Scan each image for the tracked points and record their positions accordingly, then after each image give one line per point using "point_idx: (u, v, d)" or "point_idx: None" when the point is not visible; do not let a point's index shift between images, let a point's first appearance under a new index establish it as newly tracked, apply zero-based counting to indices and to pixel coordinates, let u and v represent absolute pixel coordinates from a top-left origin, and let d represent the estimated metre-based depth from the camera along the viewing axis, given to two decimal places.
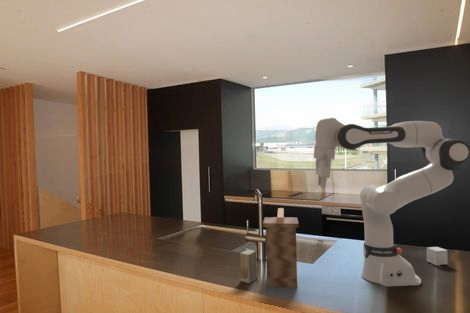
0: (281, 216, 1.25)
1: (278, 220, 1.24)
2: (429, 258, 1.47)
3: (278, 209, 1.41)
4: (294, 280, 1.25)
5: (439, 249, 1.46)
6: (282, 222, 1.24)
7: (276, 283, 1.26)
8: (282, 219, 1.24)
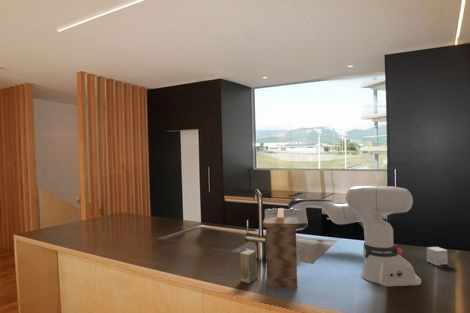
0: (281, 216, 1.25)
1: (278, 220, 1.24)
2: (429, 258, 1.47)
3: (278, 209, 1.41)
4: (294, 280, 1.25)
5: (439, 249, 1.46)
6: (282, 222, 1.24)
7: (276, 283, 1.26)
8: (282, 219, 1.24)
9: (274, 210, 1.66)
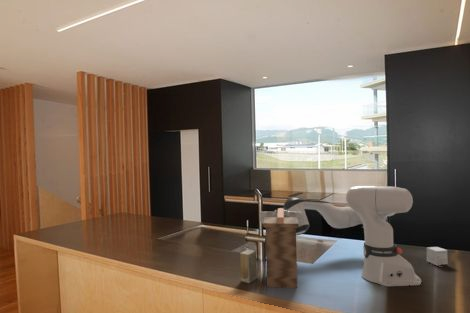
0: (281, 216, 1.25)
1: (278, 220, 1.24)
2: (429, 258, 1.47)
3: (278, 209, 1.41)
4: (294, 280, 1.25)
5: (439, 249, 1.46)
6: (282, 222, 1.24)
7: (276, 283, 1.26)
8: (282, 219, 1.24)
9: (277, 212, 1.40)
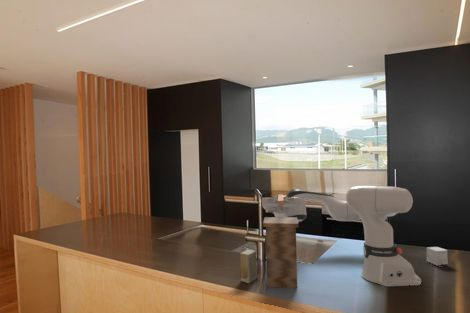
0: (281, 200, 1.43)
1: (278, 203, 1.41)
2: (429, 258, 1.47)
3: (278, 195, 1.59)
4: (294, 280, 1.25)
5: (439, 249, 1.46)
6: (282, 205, 1.41)
7: (276, 283, 1.26)
8: (282, 202, 1.41)
9: (277, 198, 1.58)
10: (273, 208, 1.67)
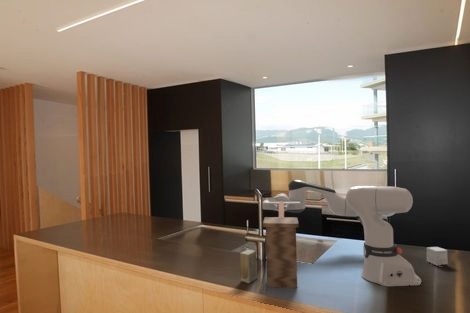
0: None
1: None
2: (429, 258, 1.47)
3: (279, 205, 1.60)
4: (294, 280, 1.25)
5: (439, 249, 1.46)
6: None
7: (276, 283, 1.26)
8: None
9: (278, 208, 1.60)
10: None
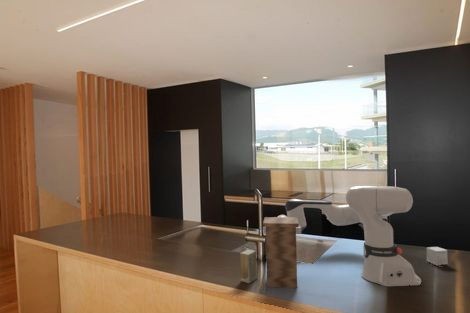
0: None
1: None
2: (429, 258, 1.47)
3: None
4: (294, 280, 1.25)
5: (439, 249, 1.46)
6: None
7: (276, 283, 1.26)
8: None
9: None
10: None
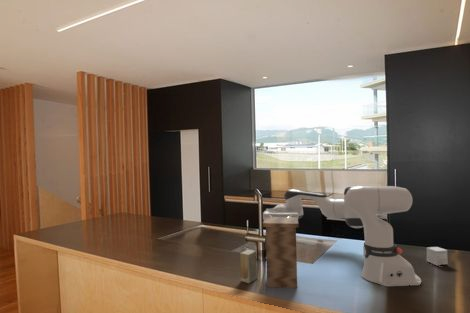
0: None
1: None
2: (429, 258, 1.47)
3: None
4: (294, 280, 1.25)
5: (439, 249, 1.46)
6: None
7: (276, 283, 1.26)
8: None
9: None
10: None
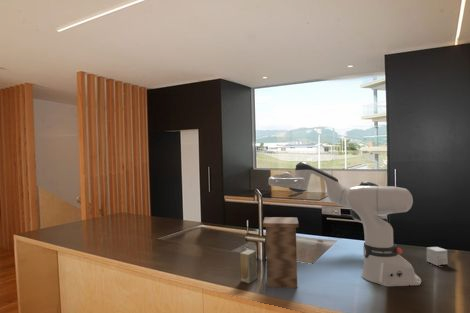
0: None
1: None
2: (429, 258, 1.47)
3: None
4: (294, 280, 1.25)
5: (439, 249, 1.46)
6: None
7: (276, 283, 1.26)
8: None
9: (278, 183, 1.70)
10: (279, 184, 1.80)
